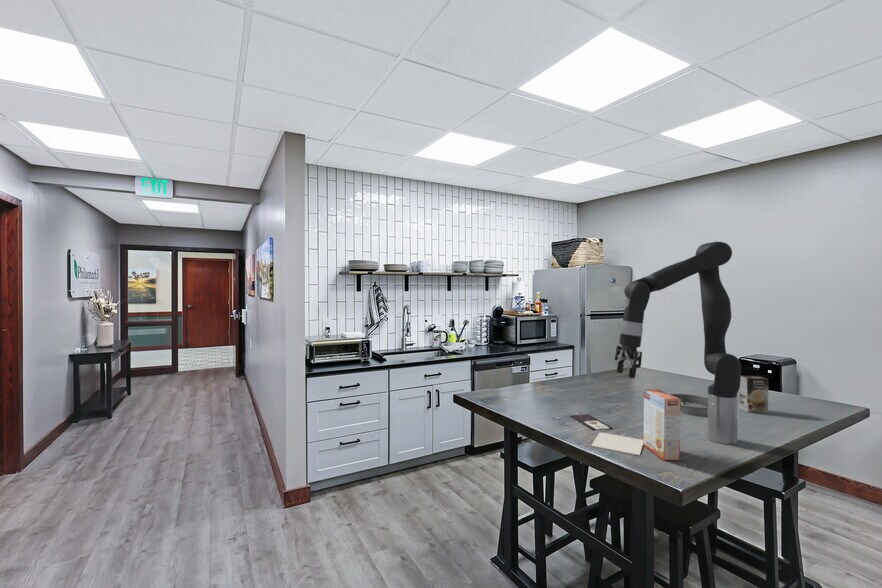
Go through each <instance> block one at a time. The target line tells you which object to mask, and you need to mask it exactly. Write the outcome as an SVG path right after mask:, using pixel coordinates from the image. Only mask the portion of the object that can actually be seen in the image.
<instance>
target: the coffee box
mask: <svg viewBox="0 0 882 588" xmlns="http://www.w3.org/2000/svg"><path fill="white" fill-rule="evenodd" d="M769 381H770V380H769V378H767V377H764V376H760V375H741V380H740V389H739V400H738V401H739V406H738V408H739V410H742V411H743V412H746V413H754V414H755V413H757V414H768V413H769V412H768V411H769V384H770V383H769Z"/></svg>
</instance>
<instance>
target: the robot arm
mask: <svg viewBox="0 0 882 588" xmlns="http://www.w3.org/2000/svg"><path fill="white" fill-rule="evenodd" d="M731 247H732V246H730V245H729V244H728V243H726V242H723V241H712V242H706V243H703V244H701V245H699V246H698V247H697V248H696V251H695V255H694V256H692V257H689V258H687V259H684V260H681V261H678V262H675V263H673V264H671V265H668V266H664V267H663V268H661V269H659V270H657V271H655V272H652V273H651V274H649V275H647V276H644V277H640V278H638V279H636V280H633V281H630V282H629V283H628V284H626V286H625V287H624V289H623V290H624V291H623V292H624V295H625V297H626V298H627V299H629V301H628V305H627V306H626V307H625V308H624V310H623V318H622V322H621V323H622V324H621V326H620V333H619V340H618V344H619V345H616V349H615V354H614V361H616V363H617V366H616V373H618V374H623V373H624V367H625V365H624V364H625V362H626V361H627V363H628V365H629V370H628V376H627V377H628V378H629V379H635V378H636V373H637V369H638V368H639V369H640V368H641V366H642V359H643V352H642V351H640V350H638V348H640V347H641V344H642V338H643V332H644V331H643V327H644V325H643V324H644V318H645V311H646V309H647V307H648V303H649V301H650V296H651V293H653V292H659V291H662V290H664V289H666V288H668V287H671V286H672V285H674V284H677V283H679V282H681V281H683V280H684V279H687V278H689V277H691V276H694V275H695V274H698V277H699V285H700V286H699V287H700V288H699V289H700V297H701V313H702V321H703V323H702V324H703V333H704V336H703V337H704V347H703V349H704V350H703V358H704V359H703V364H704V367H705V369H706V371H707V372H708V373H710V374H711V375H714V380H713V384H709V385H708V387H707V397H708V415H707V423H706V424H707V425H706V427H707V428H706V429H707V432H706V436H707V439H708V440H710V441H712V442H715V443H717V444H718V443H719V444H724V445H738V393H739V392H740V380H741V376H742V364H741V361H740V360H739V358H738V357H737V356H736V355H733V354H731V353H727V350H726V335H727V331H728V329H729V327H730V324H731V320H732V305H731V300H730V297H729V295H728V292H727V291H726V288H725V287H724V285H723V283H722V280H721V276H720V266H724V265H725V264H727V263H728V262H729V261H730V260H731V258H732V256H733V250H732V248H731Z"/></svg>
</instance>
